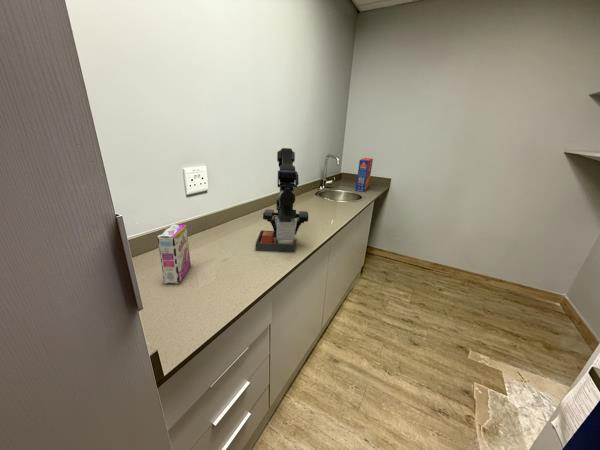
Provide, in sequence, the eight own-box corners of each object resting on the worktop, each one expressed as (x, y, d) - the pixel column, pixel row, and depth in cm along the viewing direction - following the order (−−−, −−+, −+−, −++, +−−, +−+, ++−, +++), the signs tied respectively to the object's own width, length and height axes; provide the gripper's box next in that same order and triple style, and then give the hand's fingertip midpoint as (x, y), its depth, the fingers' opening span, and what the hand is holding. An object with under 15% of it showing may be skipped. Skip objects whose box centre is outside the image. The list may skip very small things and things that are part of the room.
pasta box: (364, 192, 222) (368, 160, 212) (355, 190, 225) (359, 160, 215) (368, 186, 246) (372, 158, 236) (360, 185, 249) (364, 158, 239)
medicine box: (293, 236, 108) (294, 217, 105) (295, 240, 104) (296, 221, 101) (275, 236, 107) (276, 218, 104) (276, 240, 103) (277, 221, 100)
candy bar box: (180, 284, 77) (173, 237, 71) (163, 284, 76) (155, 236, 71) (192, 266, 87) (186, 223, 82) (177, 266, 87) (171, 223, 81)
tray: (255, 250, 101) (255, 243, 100) (260, 237, 115) (260, 230, 113) (294, 252, 102) (294, 244, 100) (294, 238, 115) (295, 232, 114)
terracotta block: (262, 244, 106) (262, 235, 104) (263, 240, 110) (263, 231, 108) (272, 245, 106) (272, 235, 104) (273, 240, 110) (273, 231, 108)
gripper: (260, 203, 92) (261, 240, 97) (309, 205, 92) (307, 243, 97) (264, 196, 102) (264, 230, 108) (308, 198, 102) (306, 232, 108)
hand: (285, 234), depth 105 cm, fingers closed on medicine box, 8 cm apart
